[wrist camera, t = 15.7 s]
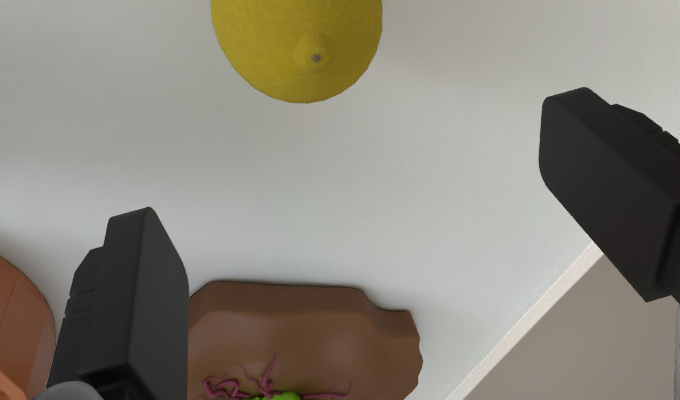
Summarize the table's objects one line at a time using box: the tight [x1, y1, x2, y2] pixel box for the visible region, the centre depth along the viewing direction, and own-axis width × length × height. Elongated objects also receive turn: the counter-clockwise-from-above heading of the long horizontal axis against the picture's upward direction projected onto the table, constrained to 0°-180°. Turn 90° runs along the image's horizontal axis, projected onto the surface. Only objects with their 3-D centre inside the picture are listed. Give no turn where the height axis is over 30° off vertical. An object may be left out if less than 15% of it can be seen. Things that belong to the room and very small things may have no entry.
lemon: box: [211, 0, 382, 104], centre depth 18 cm, size 6×6×8 cm
